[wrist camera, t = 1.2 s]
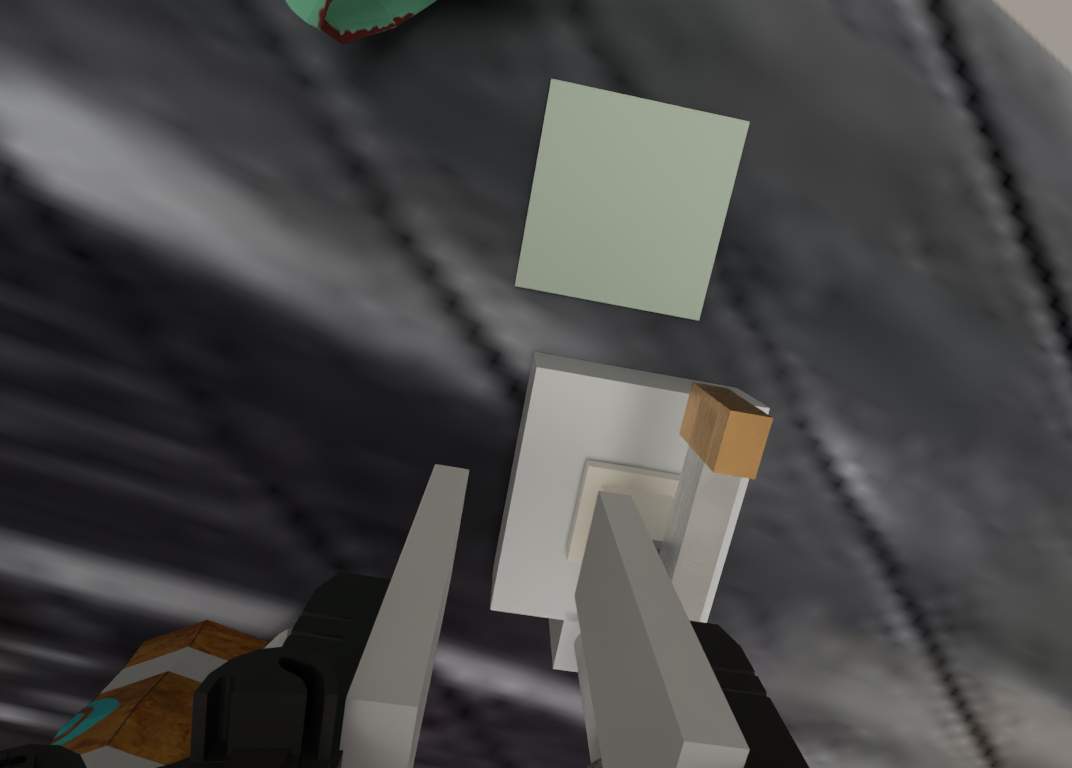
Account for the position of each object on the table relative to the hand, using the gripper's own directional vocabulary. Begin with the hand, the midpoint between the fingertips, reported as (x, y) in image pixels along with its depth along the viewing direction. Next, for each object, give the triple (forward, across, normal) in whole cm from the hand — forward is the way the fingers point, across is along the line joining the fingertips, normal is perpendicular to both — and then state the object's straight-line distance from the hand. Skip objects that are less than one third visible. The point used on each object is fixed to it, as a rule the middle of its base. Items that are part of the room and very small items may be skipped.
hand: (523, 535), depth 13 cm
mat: (+25, +5, +10) cm, 27 cm away
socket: (+25, +8, -10) cm, 28 cm away
